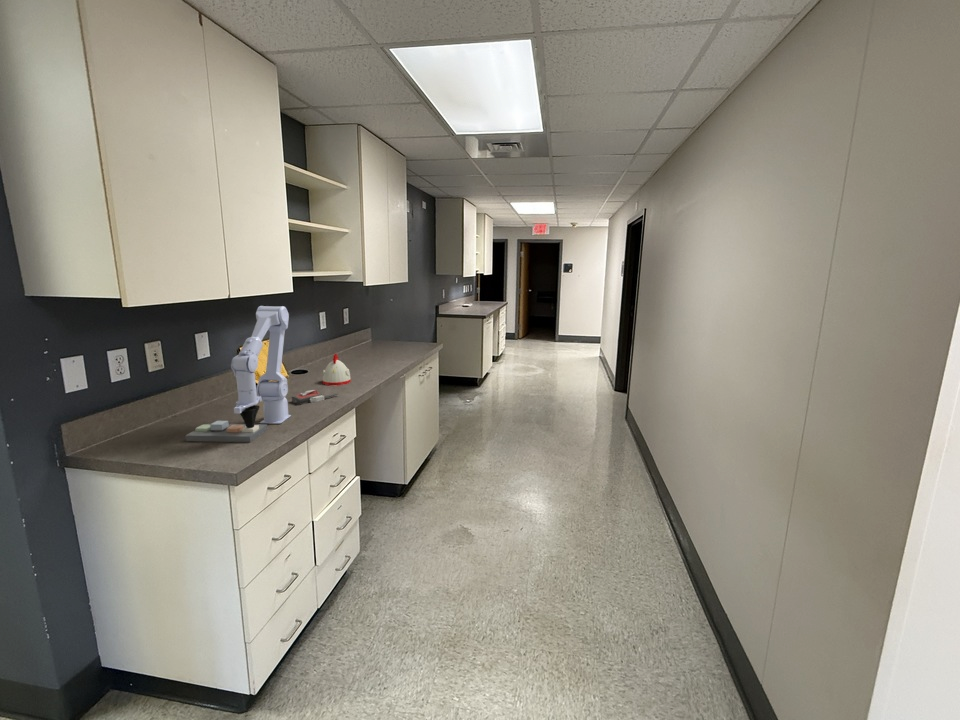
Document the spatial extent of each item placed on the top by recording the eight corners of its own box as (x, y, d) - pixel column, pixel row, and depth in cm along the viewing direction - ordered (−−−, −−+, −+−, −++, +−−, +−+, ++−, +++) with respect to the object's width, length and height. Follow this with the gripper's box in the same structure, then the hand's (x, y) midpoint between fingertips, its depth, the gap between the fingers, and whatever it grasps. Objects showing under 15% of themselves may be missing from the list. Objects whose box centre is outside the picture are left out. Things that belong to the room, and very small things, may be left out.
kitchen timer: (319, 385, 224) (318, 356, 222) (326, 379, 238) (324, 351, 235) (348, 385, 226) (346, 356, 223) (352, 379, 239) (351, 351, 236)
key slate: (217, 428, 158) (217, 420, 158) (229, 428, 158) (228, 420, 158) (211, 432, 154) (210, 424, 154) (222, 432, 154) (221, 424, 154)
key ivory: (248, 433, 158) (247, 425, 158) (259, 433, 158) (258, 425, 158) (242, 437, 154) (241, 429, 154) (253, 437, 154) (253, 429, 154)
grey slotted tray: (207, 428, 162) (207, 423, 162) (267, 429, 162) (267, 424, 162) (186, 441, 151) (185, 435, 150) (250, 442, 151) (250, 436, 150)
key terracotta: (233, 432, 158) (232, 424, 158) (244, 433, 158) (243, 425, 158) (227, 437, 155) (226, 428, 154) (238, 437, 154) (237, 429, 154)
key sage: (203, 432, 159) (202, 424, 158) (214, 432, 159) (213, 424, 158) (196, 436, 155) (195, 428, 154) (207, 436, 155) (206, 428, 154)
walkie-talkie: (299, 407, 191) (339, 397, 206) (299, 397, 190) (339, 388, 205) (288, 403, 196) (328, 393, 211) (287, 393, 195) (327, 384, 211)
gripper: (246, 384, 160) (249, 419, 163) (223, 395, 146) (227, 434, 149) (265, 384, 160) (268, 420, 163) (244, 395, 146) (248, 434, 149)
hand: (250, 427), depth 156 cm, fingers closed
